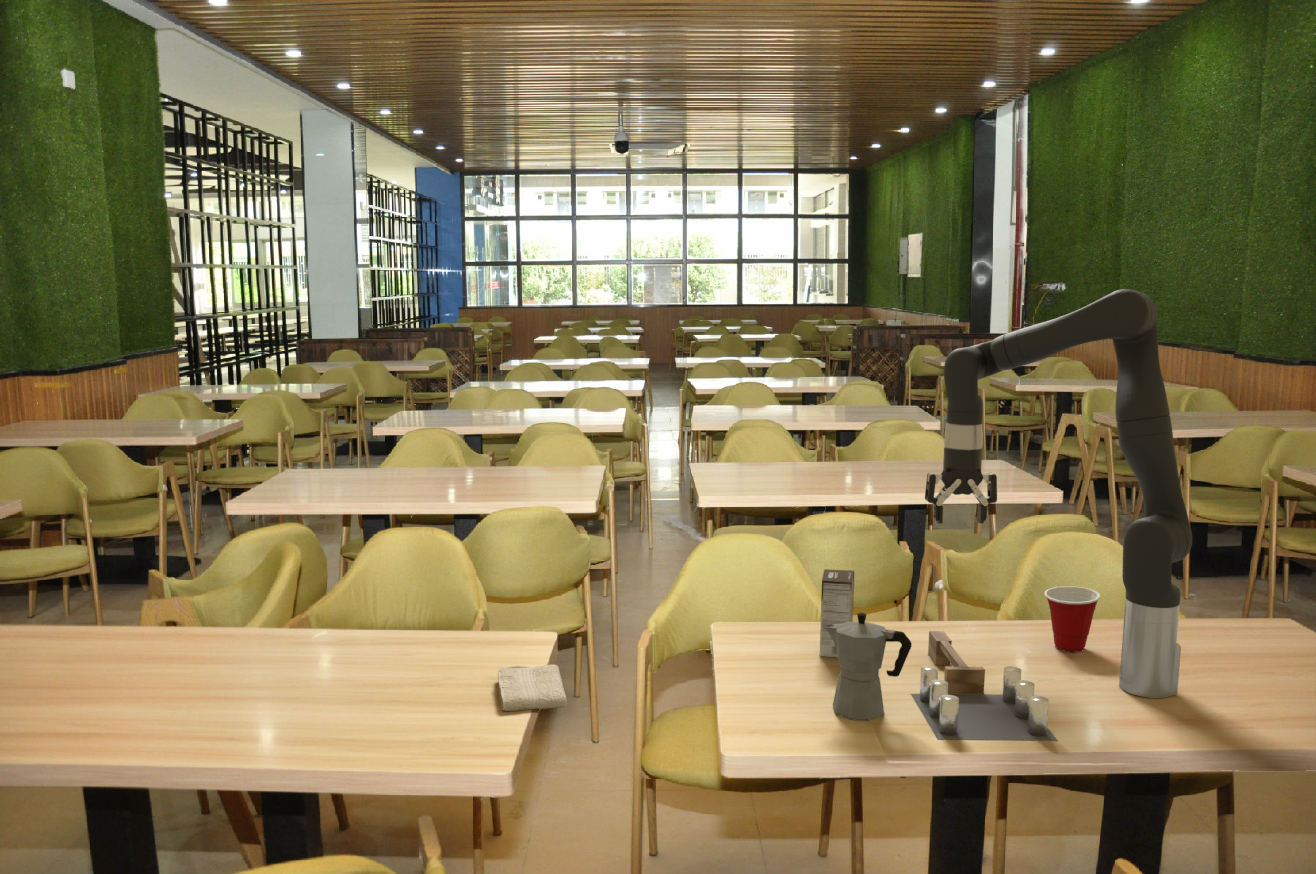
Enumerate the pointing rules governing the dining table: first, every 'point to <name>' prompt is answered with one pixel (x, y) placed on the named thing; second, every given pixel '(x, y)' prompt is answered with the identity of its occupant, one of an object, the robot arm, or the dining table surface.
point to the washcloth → (531, 688)
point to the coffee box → (835, 605)
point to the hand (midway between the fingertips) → (959, 522)
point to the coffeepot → (863, 666)
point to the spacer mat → (984, 720)
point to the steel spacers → (1013, 693)
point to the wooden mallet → (955, 666)
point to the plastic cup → (1071, 615)
